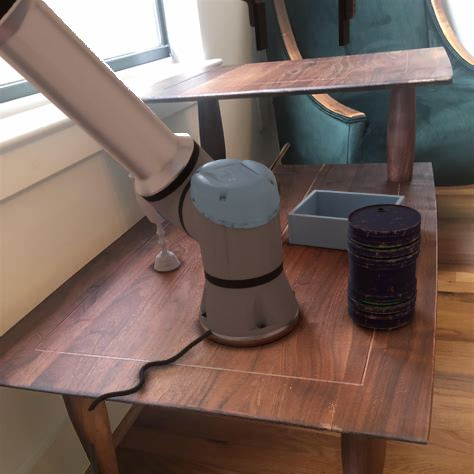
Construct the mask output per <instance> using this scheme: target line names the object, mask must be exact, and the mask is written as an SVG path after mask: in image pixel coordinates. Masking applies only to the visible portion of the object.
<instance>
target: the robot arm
mask: <svg viewBox="0 0 474 474" xmlns="http://www.w3.org/2000/svg"><path fill="white" fill-rule="evenodd" d="M241 1H243V2H245V3H246V4H247V9H248V19H249V20H248V21H249V26H250V28H254V34H255V46H256V48H255V49H256V52H261V51H264V50H267V49H269V40H268V26H267V12H266V11H267V9H266V2H265V1H262V0H241ZM337 3H338V5H337V7H338V9H337V10H338V11H337V12H338V18H337V19H338V47H345V46H347V45H349V44H350V43H351V41H350V40H351V35H350V34H351V33H350V32H351V31H350V30H351V29H350V27H351V26H350V25H351V23H350V22H351V20H353V19H355V18H356V16H357V0H337ZM0 58H1V59H2V60H3V61H5V62H6V64H8V65H9V66H10V67H11V68H12V69H13V70H15V71H16V72H17V73H18V74H19V75H20V76H21V77H23V78H24V79H25V80H26V81H27V83H29V84H30V85H31V86H32V87H34V88H35V89H36V90H37V91H38V92H39V93H40V94H41V95H42V96H44V97H45V98H46V99H47V100H48V101H49V102H50V103H51V104H52V105H54V106H55V107H56V108H57V109H58V110H59V111H60V112H61V113H63V114H64V116H66V117H67V118H68V119H69V120H70V121H72V122H73V123H74V124H75V125H76V126H77V127H78V128H79V129H81V130H82V131H83V132H84V133H85V134H86V135H87V136H88V137H89V138H90V139H91V140H93V142H95V143H96V144H97V145H98V146H99V147H101V149H102V150H104V151H105V152H106V153H107V154H108V155H110V156H111V158H113V159H114V160H115V161H116V162H117V163H119V165H121V166H122V167H123V168H124V169H125V170H126V171H127V172H129V174H130V173H131V174H132V175H133V176H134V177H135V189H136V192H137V193H138V194H139V195H140V196H141V197H143V198H144V199H145V200H146V201H147V202H148V203H149V204H151V205H152V206H153V208H154V209H155V210H156V211H157V213H158V214H159V215H160V216H161V217H162V218H163V219H164V220H165V222H167V223H169V224H170V225H172V226H174V227H175V228H177V229H178V230H180V231H182V232H183V233H185V235H187V236H188V237H190V238H191V239H192V240H194V241H195V242H196V243H198V245H199V248H200V255H201V260H202V268H203V272H204V279H205V280H204V285H203V290H202V294H201V300H200V306H199V311H198V312H199V313H198V317H199V324H200V329H201V331H202V333H203V334H201V335H200V336H198V337H197V338H195V339H194V340H193V341H191V342H190V343H188V344H187V345H186V346H184V347H183V348H182V349H181V350H180V351H179V352H178V353H176V354H175V355H173V356H171V357H169V358H167V359H162V360H153V361H149V362H147V363H144V364H143V365H142V366H141V367H140V369H139V372H138V379H139V381H138V384H136V385H135V386H133V387H131V388H129V389H124V390H117V391H110V392H107V393H103V394H101V395H99V396H97V397H95V399H93V401H92V402H91V404H90V405H89V407H88V409H87V412H92V411H94V410H95V409H96V407H97V406H98V405H99V404H100V403H102V402H103V401H105V400H108V399H112V398H113V399H114V398H119V397H120V398H121V397H126V396H130V395H133V394H136V393H137V392H139V391H140V390H142V389H143V387H144V385H145V383H146V377H145V374H146V371H147V370H148V369H150V368H153V367H160V366H161V367H163V366H167V365H170V364H172V363H175V362H176V361H178V360H180V359H181V358H182V357H183V356H185V354H187V353H188V352H189V351H190V350H192V349H193V348H194V347H196V346H198V345H199V344H200V343H201V342H202V341H204V340H205V339H207V338H208V339H210V340H211V341H213V342H216V343H218V344H221V345H225V346H230V347H231V346H232V347H255V346H261V345H265V344H269V343H271V342H274V341H277V340H279V339H281V338H283V337H284V336H287V335H288V334H289V333H290V332H292V331H293V329H295V327H296V326H297V324H298V323H299V318H300V312H299V311H300V310H299V302H298V300H297V297H296V291H294V290H293V288H292V286H291V284H290V281H289V279H288V277H287V275H286V272H285V270H284V254H283V239H282V226H281V225H282V224H281V209H280V208H281V207H280V206H281V196H279V192H278V187H277V182H276V178H275V176H274V174H273V173H272V171H271V170H270V167H269V168H268V167H267V166H266V165H265V164H263V163H261V162H258V161H255V160H251V159H244V160H241V159H240V158H224V159H223V158H222V159H218V160H214V159H213V158H212V157H211V156H210V155H209V153H207V151H205V149H204V148H202V147H201V145H200V144H199V143H198V142H197V141H196V139H194V138H193V136H191V135H190V134H189V133H185V132H181V133H175V132H173V131H172V130H171V129H170V128H169V127H168V126H167V125H166V124H165V123H164V122H163V120H161V118H160V117H158V116H157V115H156V113H155V112H153V110H151V108H150V107H149V106H148V105H147V104H146V103H145V102H144V101H143V100H142V99H141V98H140V97H139V96H138V95H137V94H136V93H135V92H134V90H133V89H132V88H130V86H128V85H127V83H126V82H125V81H124V80H122V78H121V77H120V76H119V75H118V74H117V73H116V72H115V71H114V70H113V69H112V68H111V67H110V66H109V65H108V64H107V63H106V62H105V61H104V60H103V58H101V57H100V56H99V55H98V54H97V52H96V51H95V50H93V48H92V47H91V46H89V44H88V43H87V42H86V41H85V40H84V39H83V38H82V37H81V36H80V35H79V34H78V33H77V32H76V31H75V30H74V29H73V28H72V27H71V26H70V25H69V24H68V23H67V22H66V21H65V20H64V18H63V17H62V16H60V15H59V13H57V11H56V10H55V9H54V8H53V7H52V6H51V5H50V4H49V3H48V2H47V1H46V0H0ZM95 445H96V444H95V443H92V442H89V441H88V448H89V456H90V463H91V470H92V474H100V473H99V468H98V460H97V453H96V446H95Z"/></svg>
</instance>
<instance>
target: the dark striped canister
mask: <svg viewBox="0 0 474 474" xmlns="http://www.w3.org/2000/svg"><path fill="white" fill-rule="evenodd" d="M422 219H423V218H422V214H421V212H420V211H418V210H417V209H415V208H413V207H411V206H407V205H405V206H403V205H397V204H375V205H369V206H364V207H361V208H358V209H356V210H354V211H352V212H351V213H350V214H349V215H348V234H347V245H348V248H347V250H346V252H347V257H348V259H349V263H348V264H349V267H348V268H349V274H348V277H347V289H346V298H347V304H348V305H347V315H348V317H349V318H350V319H351V320H352V321H353V322H354V323H356V324H357V323H358V324H357V325H359V326H362V327H365V328H368V329H375V330H389V329H391V330H392V329H396V328H400V327H403V326H405V325H407V324H409V323H410V322H411V321H412V320H413V319H414V317H415V314H416V313H415V312H416V308H415V307H416V301H417V295H418V294H417V293H418V289H417V286H418V279H417V277H416V276H417V262H418V258H419V256H420V253H421V248H420V246H421V241H422V233H421V230H422Z"/></svg>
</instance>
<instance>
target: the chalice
mask: <svg viewBox="0 0 474 474" xmlns="http://www.w3.org/2000/svg"><path fill="white" fill-rule="evenodd" d="M128 177H129V178H130V180H131V181H132V184H133V189H134V195H135V198H136V203H137V204H138V206H139V208H140V209H141V211H142V213H143V214H144V215H145V216H146V218H147V219H148V221H149V222H150V223H151V224H155V225H156V233H155V234H156V235H157V236H158V241H157V244H159V246H160V248H161V250H160V251H159V253H158V254H156V256H155V260H154V266H153V268H154V270H155V271H157V272H170V271H173V270H176V269H177V268H179V267H180V266H181V261H180V260H179V259H178V257H177V256H176V254H175V253H174V252H173V251H171V250H168V248H167V243H168V240H167V239H166V237H165V233H166V231H165V230H164V228H163V223H164V222H166V220H164V219H163V218H162V217H161V216H160V215H159V214H158V213H157V211H156V210H155V209H154V208H153V206H152V205H151V204H149V203H148V202H147V201H146V200H145V199H144V198H143V197H141V196H140V195H139V194H138V193H137V192H136V189H135V177H134V176H133V175H132V174H131V173H130V172H129V174H128Z"/></svg>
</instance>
